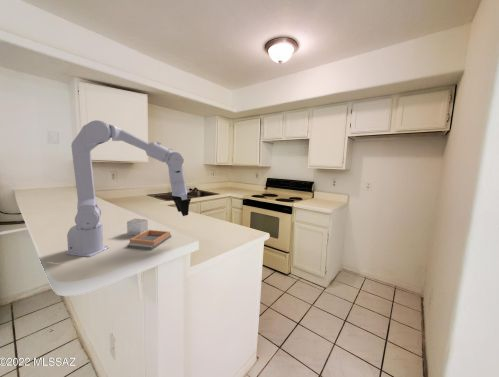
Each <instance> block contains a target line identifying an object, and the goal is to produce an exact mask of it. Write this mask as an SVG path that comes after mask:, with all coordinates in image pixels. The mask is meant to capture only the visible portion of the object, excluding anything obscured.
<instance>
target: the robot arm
mask: <svg viewBox="0 0 499 377" xmlns="http://www.w3.org/2000/svg"><path fill="white" fill-rule="evenodd" d="M110 140H112V142H120V141H121V142H124V143H126V144H128V145H131V146H133V147H136V148H138V149H140V150H143V151H145V153H146V155H147V156H148V157H150V158H152V159H155V160H157V161H159V162H161V163H165V164H166V165H167V168H168V176H169V183H170V187H171V197H170V198H171V199H172V201H173V202H174V204H175V208H176V209H177V212H178V213H181V214H182V216H183V217H186V216H189V209H190V208H189V207H190V203H191V200H192V199H191V197H188V193H191V191H190V190H189V189H188V190H187V185H186V178H185V172H184V167H183V164H184V160H185V159H184V157H183V156H182V154H181V153H179V152H177V151H173V149H172V148H167V147H166V146H164V145H161V144H162V143H161V142H159V141H156V142H155V141H152V142H147V141H146V140H144V139H142V138H140V137H138V136H136V135H133V134H131V133H130V132H128V131H126V130H124V129H122V128H120V127H118V126H115V125H113V124H109V123H108V124H107V123H106V122H104V121H103V120H98V119H97V120H92V121H90V122H88V123H87V124H84V125H83V126H82V127H81V129H80V131H79V132H78V133H77V135H76V136H75V138H74V139H73V141H72V142H71V146H70V147H71V152H72V153H71V156H72V162H73V170H74V177H75V178H74V179H75V186H76V187H75V188H76V195H77V205H76V206H77V207H76V208H77V212H76V215H75V217H74V223H75V224H76V225H73V226H71V227H70V229H69V230H68V231H67V233H66V234H67V235H66V238H67V251H66V252H65V255H70V256H71V255H72V256H80V257H86V258H87V257H89V258H90V257H91V258H92V257H94V256H95V255H97V254H100V253H101V252H104V251H105V250H107V249H110V246H109V245H104V237H103V236H104V235H103V234H104V233H103V222H101V221H100V218H101V214H102V211H101V208H100V207H99V206H98V202H97V197H96V190H95V181H94V180H95V179H94V172H93V162H92V154H91V152H92V151H93V150H94V149H95V148H96V147H98V146H99V145H101V144H104V143H106V142H109V141H110Z"/></svg>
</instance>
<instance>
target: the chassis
mask: <svg viewBox="0 0 499 377" xmlns="http://www.w3.org/2000/svg"><path fill="white" fill-rule="evenodd" d="M170 238H172V233H171V231H166V230H157V229H148V230H147V231H145V232H143V233H141V234H139V235H137V236H132V237H131V238H129V243H127V248H133V249H141V250H142V249H143V250H150V251H151V250H152V251H153V250H154V249H155V248H156V247H159V246H160V245H161V244H163V243H164V242H166V241H167V240H169V239H170Z"/></svg>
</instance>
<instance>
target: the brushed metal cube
mask: <svg viewBox="0 0 499 377" xmlns="http://www.w3.org/2000/svg"><path fill="white" fill-rule="evenodd" d="M148 223H149V222H148V219H145V218H133V219H130V220H127V221H126V230H127V231H126V232H127V233H126V234H127V236H131V237H135V236H137V235H139V234H141V233H143V232H145V231H147V230H149V229H148V228H149V227H148V226H149V224H148Z"/></svg>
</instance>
